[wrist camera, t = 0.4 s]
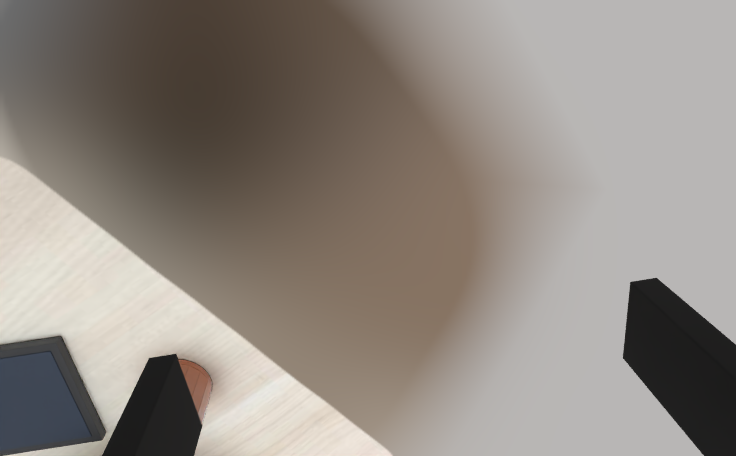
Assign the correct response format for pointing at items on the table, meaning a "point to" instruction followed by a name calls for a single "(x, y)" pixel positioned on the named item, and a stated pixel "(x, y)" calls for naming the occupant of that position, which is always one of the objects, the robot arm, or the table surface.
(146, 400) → the robot arm
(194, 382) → the cup
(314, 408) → the table surface
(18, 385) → the tablet
